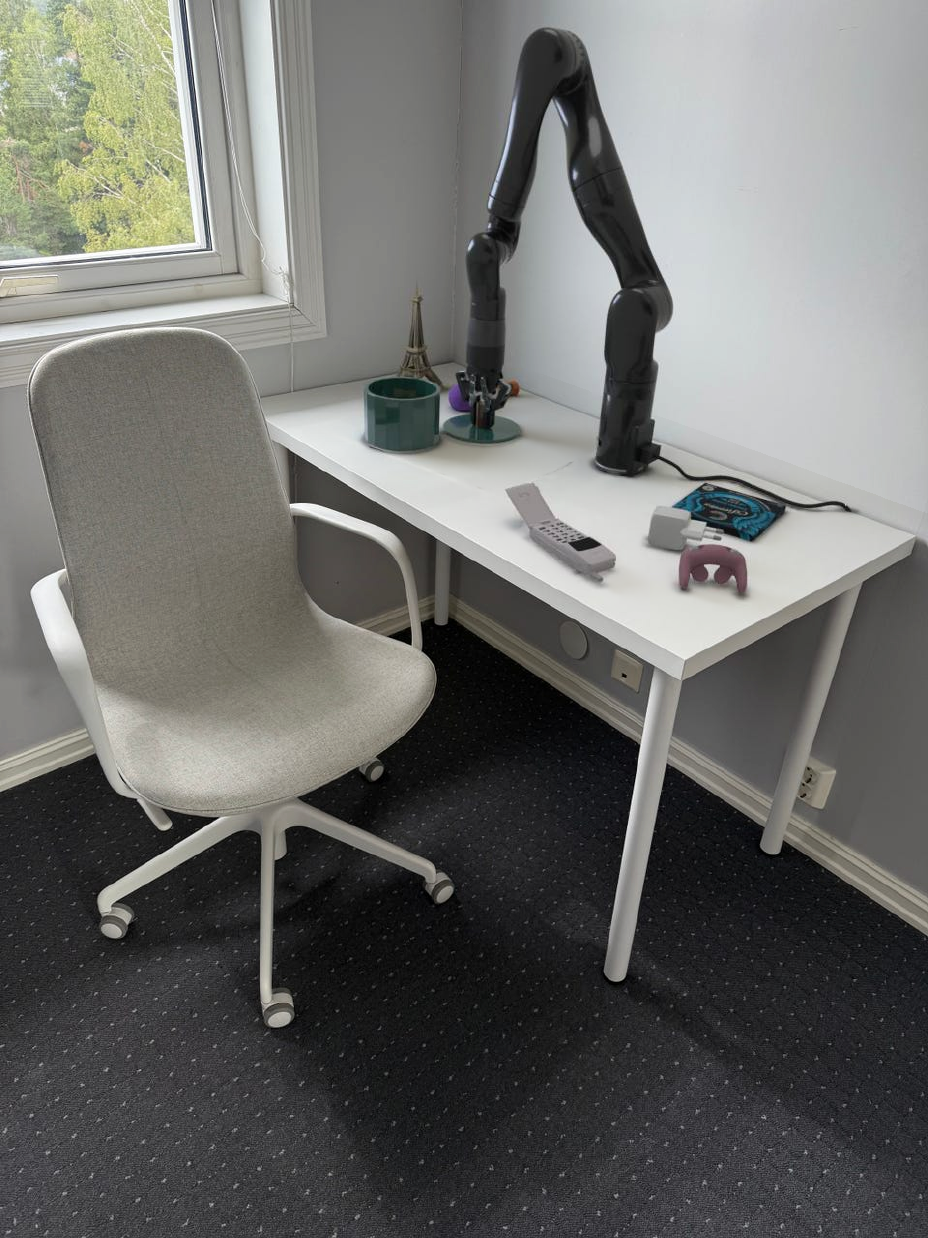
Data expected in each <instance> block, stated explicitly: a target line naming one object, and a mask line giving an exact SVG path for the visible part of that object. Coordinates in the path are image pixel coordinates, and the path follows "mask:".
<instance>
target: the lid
mask: <svg viewBox="0 0 928 1238" xmlns="http://www.w3.org/2000/svg"><path fill="white" fill-rule="evenodd" d="M484 411H485V406H484V400H481V401H478V402H477V404H476V425H472V424H471V421H470V413H467V414H460V415H456V416H452V417H449V418H448V419H446V420H444V422H443V424H442V430H443V432H444V433H445V434H446V435H447V436H449V437H451V438H453V439H456V440H459V441H463V442H468V443H474V444H498V443H504V442H508V441H511V440H513V439H515V438H517V437H518V436H520V434H521V426H520V425H519V424H518V423H517V422H516V421H514V420H512V419H510V418H507V417H505V416H500V415H497V414H495V420H494V421H495V422H494V425H493V426H492V428H489V429H485V428H483V423H484Z"/></svg>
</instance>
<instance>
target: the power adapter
mask: <svg viewBox="0 0 928 1238" xmlns="http://www.w3.org/2000/svg"><path fill="white" fill-rule="evenodd" d="M705 532H710V533H714V534H709V533H705ZM716 534H719V535H716ZM724 534H725V533H724V530H721V529H715V528H710V527H706V522H701V521H696V520H691V512H689V511H687V510H683V509H678V508H672V506H666V505H656V506H655V509H654V510H653V512H652V514H651V518H650V523H649V529H648V536H647V542H648V544H649V545H651V546H654V547H659V548H663V549H668V550H673V551H683V549H684V548H685V547H686V545H687V542H688V541H687V540H692V541H696V542H697V541H698V542H702V540H703V539H710V540H714V541H722V536H721V535H724Z"/></svg>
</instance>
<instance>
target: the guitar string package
mask: <svg viewBox="0 0 928 1238" xmlns="http://www.w3.org/2000/svg"><path fill="white" fill-rule="evenodd" d="M671 507H672V508H678V509H683V510H687V511H689V512H691V520H696V521H701V522H706V527H710V528H715V529H721V530H724V533H723V534H726V535H729V536H732V537H735V538H738V539H742V540H745V541H749V542H751V543H752V542H754V541H755V540H756V539H757V538H758V537H760V535H761V534H763V533H764V532H765V531H766V530H767V529H768V528H769V527H771V525H772V524H773V523H774V522H776V521H777V520H778V519H779V518H780V517H781V516H782V515H784V513H785V512H786V508H787V504H783V503H779V502H775V501H772V500H768V499H765V498H761V497H758V496H754V495H750V494H747V493H745V492H740V491H737V490H733V489H729V488H726V487H724V486H718V485H715V484H712V483H708V482H704V483H702V484H701V485H700V486H699V487H697V488H695V489H694V490H693V491H692V492H690V493H689V494H687V495H686V496H684V497H683V498H682V499H680V500H679V501H678V502H675V504H673V505H672V506H671Z"/></svg>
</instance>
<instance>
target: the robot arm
mask: <svg viewBox="0 0 928 1238" xmlns="http://www.w3.org/2000/svg"><path fill="white" fill-rule="evenodd" d="M598 94H599V93H598V90H597V86H596V81H595V77H594V73H593V69H592V65H591V60H590V56H589V53H588V50H587V48H586V45H585V43H584V42H583V40H582V39H581V38H580V37H579V36H578V35H577V34H576V33H574V32H573V31H570V30H567V29H564V28H563V29H562V28H557V27H552V26H544V27H540V28H537V29H535V30H534V31H532V32H531V33H530V34H529V35H528V36H527V38H526V39H525V41H524V43H523V45H522V46H521V49H520V54H519V58H518V61H517V67H516V74H515V79H514V87H513V93H512V98H511V104H510V109H509V114H508V120H507V124H506V130H505V135H504V139H503V143H502V147H501V151H500V155H499V159H498V162H497V164H496V165H497V166H496V169H495V172H494V175H493V178H492V182H491V185H490V188H489V191H488V194H487V197H486V202H485V209H486V211H487V213H489V215H488V220H487V224H486V227H485V230H482V231H479V232H476V233H475V234H473V235H472V236H471V237H470V238H469V240H468V242H467V244H466V247H465V255H464V256H465V257H464V263H465V264H464V265H465V271H466V278H467V285H468V288H469V305H468V306H469V309H468V320H467V326H466V347H465V348H466V351H465V363H466V365H467V366H466V367H465V369H464V370H460V371H458V372H455V379H456V384H458V386H459V389H460V393H461V396H462V399H463V401H464V402H466V401H467V402H468V403H469V405H470V410H469V411H470V412H469V414H470V421H471V424H472V425H476V404H477V402H478V401H484V406H485V411H484V423H483V428H485V429H489V428H492V426H493V425H494V422H495V421H494V420H495V415H496V411H498V410H501V409H504V407H505V405H506V404H507V402H508V399H509V397H510V394H511V392H512V390H513V388H514V386H513V384H512V383H510V384H508V382H507V381H506V380H505V379H504V374H503V367H504V364H505V355H506V338H507V323H506V322H507V321H506V317H507V303H508V302H507V298H508V297H507V296H508V295H507V289H506V288H505V286H504V285H503V284H501V272H500V271H501V270H500V269H502V268H504V267H506V266H507V265H508V264H509V263H510V262H511V261H512V259H513V257H514V256H515V253H516V252H517V249H518V245H519V241H520V234H521V228H522V220H523V215H524V211H525V209H526V207H527V204H528V201H529V198H530V195H531V193H532V189H533V186H534V183H535V180H536V174H537V169H538V161H539V144H540V135H541V130H542V126H543V122H544V119H545V115H546V113H547V111H548V108H549V105H550V104H551V102H552V103H553V105H554V107H555V109H556V112H557V115H558V117H559V119H560V122H561V125H562V126H561V127H562V128H563V132H564V139H565V150H566V151H565V152H566V154H565V156H566V157H565V158H566V159H565V160H566V174H567V180H568V184H569V188H570V191H571V195H572V197H573V200H574V203H575V205H576V209H577V211H578V213H579V216H580V218H581V220H582V222H583V224H584V226H585V227H586V229H587V230H588V232H589V233H590V235H591V236H592V237H593V239H594V240H595V241H596V243H597V244H598V245H599V247H600V248H601V249H602V250H603V252H605V254H606V256H607V257H608V259H609V261H610V262H611V265H612V266H613V269H614V271H615V274H616V277H617V279H618V283H619V286H620V290H618V291H617V292H616V293H615V294H614V296H613V297H612V298H611V301H610V303H609V306H608V309H607V313H606V321H605V322H606V323H605V335H604V348H603V358H604V362H605V366H606V368H605V375H604V385H603V392H602V401H601V408H600V409H601V410H600V417H599V418H600V419H599V424H598V425H599V426H598V434H597V436H596V439H595V442H596V451H595V457H594V465H595V467H596V468H597V469H599V470H600V471H603V472H606V473H608V474H614V475H621V476H622V475H623V476H628V477H633V476H635V475H637V474H639V473H641V472H643V471H645V470H647V469H648V468H649V465H650V464H652V463H654V462H655V461H658V460H659V461H661V462H663V463H665V464H667V465H669V466H671V467H672V468H674V469H675V470H676V471H678V472H679V474H680V475H681V476H682V477H684V478H685V479H688V480H691V481H695V482H696V481H699V482H700V481H701V482H702V481H714V480H727V481H731V482H736V483H738V484H741V485H744V486H745V487H747V488H750V489H752V490H754V491H756V492H759V493H761V494H763V495H766V496H768V497H770V498H773V499H775V500H777V501H780V502H781V503H782V504H783V503H784V504H785V505H789V506H792V507H797V508H801V509H817V508H822V507H829V506H839V507H841V508H842V509H844V511H846V512H849V513H852V512H853V511H852V509H851V508H850V507H849V506H848V505H847V504H846V503H844V502H842V501H838V500H830V501H829V500H827V501H823V502H818V503H807V504H806V503H802V502H796V501H793V500H789V499H787V498H784V497H782V496H780V495H778V494H776V493H774V492H772V491H769V490H766V489H764V488H762V487H759V486H757V485H755V484H753V483H751V482H748V481H746V480H744V479H742V478H738V477H735V476H731V475H721V474H718V475H708V476H707V475H706V476H694V475H690V474H688V473H686V472H685V471H684V470H683V469H682V468H681V467H680V466H679V465H678V464H677V463H675V462H673V461H672V460H669V459H668V458H666V457H664V456H662V455H661V451H662V445H661V444H658V443H655V442H653V437H654V432H655V426H656V419H654V418H652V414H653V407H654V402H655V396H656V395H655V394H656V388H657V382H658V375H659V367H660V366H659V363H658V361H657V360H656V359H654V348H655V342H656V341H655V340H656V334H658V333H660V332H662V331H663V330H665V329H666V328H667V327H668V325H669V324H670V322H671V320H672V318H673V314H674V301H673V297H672V294H671V291H670V289H669V287H668V284H667V282H666V281H665V278H664V275H663V273H662V272H661V269H660V267H659V265H658V263H657V260H656V259H655V256H654V254H653V252H652V250H651V247H650V244H649V242H648V238H647V236H646V233H645V229H644V225H643V223H642V221H641V217H640V214H639V211H638V208H637V206H636V202H635V199H634V195H633V193H632V189H631V187H630V183H629V181H628V178H627V175H626V172H625V169H624V166H623V163H622V161H621V159H620V155H619V153H618V151H617V148H616V145H615V142H614V139H613V136H612V133H611V131H610V128H609V125H608V123H607V120H606V117H605V115H604V112H603V109H602V105H601V102H600V98H599V95H598ZM498 386H499V389H498V388H497V387H498ZM466 390H467V392H466ZM498 391H499V393H498ZM467 393H468V395H467ZM488 393H491V394H488ZM481 399H482V400H481ZM845 504H846V506H845Z"/></svg>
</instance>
